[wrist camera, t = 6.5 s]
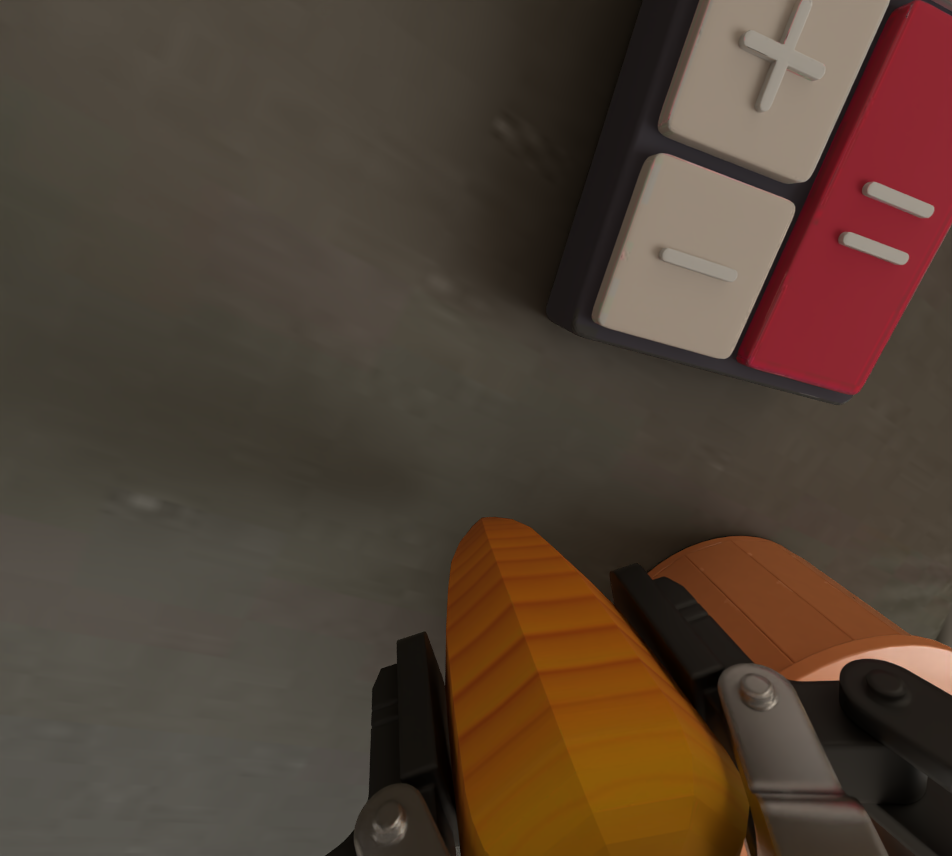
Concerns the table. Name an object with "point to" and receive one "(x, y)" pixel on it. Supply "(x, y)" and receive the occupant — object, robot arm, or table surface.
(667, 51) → the calculator
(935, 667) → the pot lid
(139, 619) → the table surface
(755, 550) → the pot
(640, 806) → the carrot
